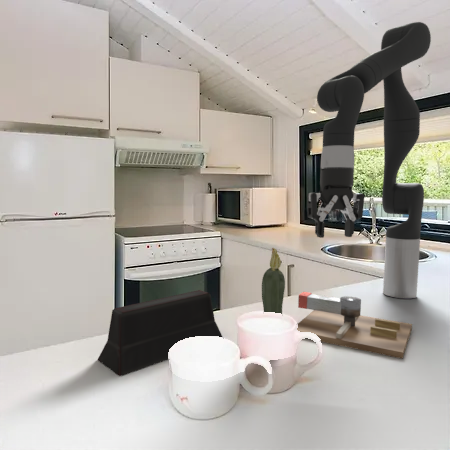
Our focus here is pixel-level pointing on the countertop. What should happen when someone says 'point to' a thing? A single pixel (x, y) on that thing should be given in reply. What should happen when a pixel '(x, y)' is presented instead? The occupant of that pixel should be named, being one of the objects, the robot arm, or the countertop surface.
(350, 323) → the door board
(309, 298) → the bar
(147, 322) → the barrier
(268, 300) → the vegetable
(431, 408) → the countertop surface
